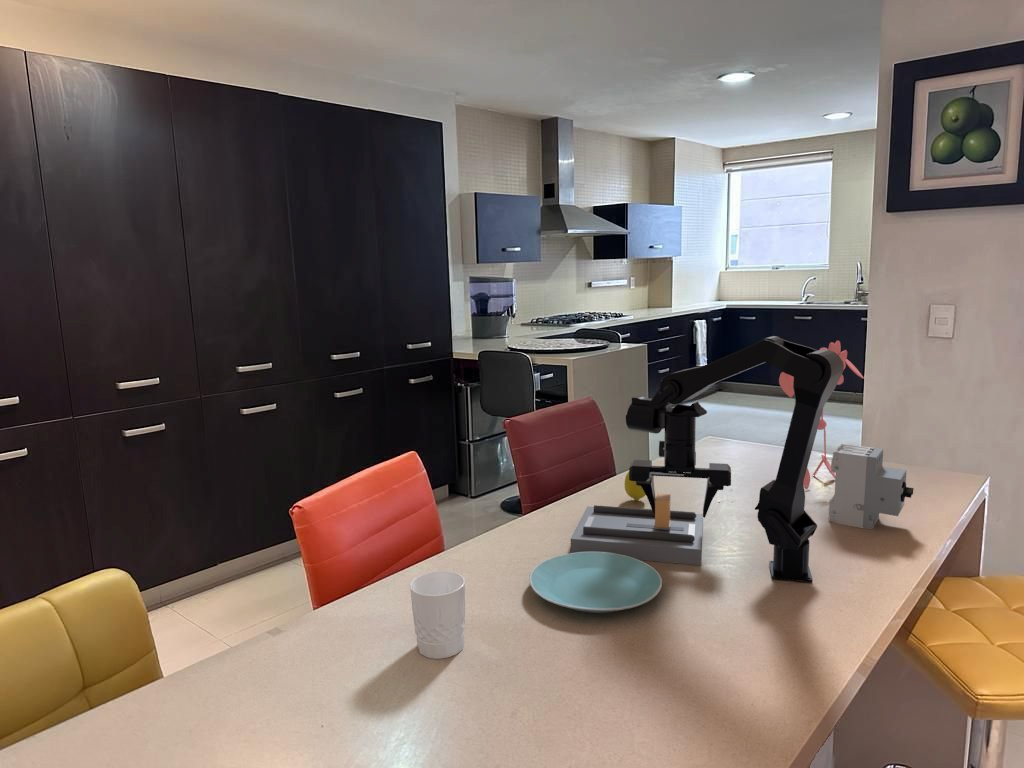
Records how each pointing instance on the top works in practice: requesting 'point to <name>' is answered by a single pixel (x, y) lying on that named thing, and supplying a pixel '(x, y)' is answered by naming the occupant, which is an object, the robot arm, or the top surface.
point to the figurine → (787, 387)
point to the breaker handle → (662, 512)
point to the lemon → (633, 489)
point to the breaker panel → (638, 546)
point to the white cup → (439, 613)
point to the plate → (595, 581)
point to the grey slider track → (640, 533)
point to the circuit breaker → (865, 487)
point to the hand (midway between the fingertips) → (679, 515)
